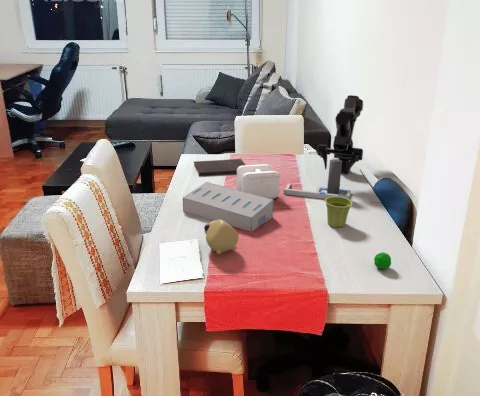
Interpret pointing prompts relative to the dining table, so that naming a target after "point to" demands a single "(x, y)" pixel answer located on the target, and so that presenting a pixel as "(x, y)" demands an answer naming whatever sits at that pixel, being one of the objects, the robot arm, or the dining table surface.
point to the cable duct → (315, 193)
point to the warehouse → (229, 206)
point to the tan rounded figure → (221, 236)
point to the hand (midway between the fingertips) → (336, 170)
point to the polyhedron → (382, 260)
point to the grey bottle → (334, 176)
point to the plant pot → (337, 210)
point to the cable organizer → (258, 180)
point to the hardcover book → (218, 167)
